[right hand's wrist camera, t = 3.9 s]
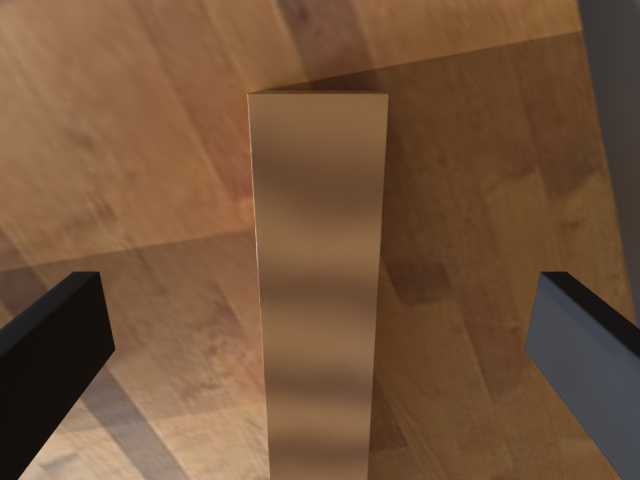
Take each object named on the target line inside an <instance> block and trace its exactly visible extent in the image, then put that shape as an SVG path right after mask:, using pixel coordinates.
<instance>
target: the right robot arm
mask: <svg viewBox="0 0 640 480" xmlns="http://www.w3.org/2000/svg"><path fill="white" fill-rule="evenodd" d="M114 351H115V345H114V340H113V336H112V331H111V326H110V321H109V316H108V311H107V306H106V302H105V297H104V292H103V287H102V282H101V277H100V273H99V272H72V273H71V274H70V275H69V276H67V277H66V278H65V279H64V280H62V281H61V282H60V283H59V284H57V285H56V286H55V287H54V288H52V289H51V290H50V291H48V292H47V293H46V294H45V295H43V296H42V297H41V298H40V299H38V300H37V301H36V302H35V303H33V304H32V305H31V306H29V307H28V308H27V309H26V310H24V311H23V312H22V313H21V314H19V315H18V316H17V317H16V318H14V319H13V320H12V321H10V322H9V323H8V324H7V325H5V326H4V327H3V328H2V329H0V480H18V479H19V477H20V476H21V475H22V473H23V472H24V471H25V469H26V468H27V467H28V465H29V464H30V463H31V461H32V460H33V459H34V457H35V456H36V455H37V453H38V452H39V451H40V449H41V448H42V447H43V445H44V444H45V443H46V441H47V440H48V439H49V437H50V436H51V435H52V433H53V432H54V431H55V429H56V428H57V427H58V425H59V424H60V423H61V421H62V420H63V419H64V417H65V416H66V415H67V413H68V412H69V411H70V409H71V408H72V407H73V405H74V404H75V403H76V401H77V400H78V399H79V397H80V396H81V395H82V393H83V392H84V391H85V389H86V388H87V387H88V385H89V384H90V383H91V381H92V380H93V379H94V377H95V376H96V375H97V373H98V372H99V371H100V369H101V368H102V367H103V365H104V364H105V363H106V361H107V360H108V359H109V357H110V356H111V355H112V353H113V352H114ZM525 351H526V352H527V353H528V355H529V356H530V357H531V359H532V360H533V361H534V363H535V364H536V365H537V367H538V368H539V369H540V371H541V372H542V373H543V375H544V376H545V377H546V379H547V380H548V381H549V383H550V384H551V385H552V387H553V388H554V389H555V391H556V392H557V393H558V395H559V396H560V397H561V399H562V400H563V401H564V403H565V404H566V405H567V407H568V408H569V409H570V411H571V412H572V413H573V415H574V416H575V417H576V419H577V420H578V421H579V423H580V424H581V425H582V427H583V428H584V429H585V431H586V432H587V433H588V435H589V436H590V437H591V439H592V440H593V441H594V443H595V444H596V445H597V447H598V448H599V449H600V451H601V452H602V453H603V455H604V456H605V457H606V459H607V460H608V461H609V463H610V464H611V465H612V467H613V468H614V469H615V471H616V472H617V473H618V475H619V476H620V477H621V479H622V480H640V329H638V328H637V327H636V326H635V325H633V324H632V323H631V322H630V321H628V320H627V319H626V318H624V317H623V316H622V315H621V314H619V313H618V312H617V311H616V310H614V309H613V308H612V307H611V306H609V305H608V304H607V303H605V302H604V301H603V300H602V299H600V298H599V297H598V296H597V295H595V294H594V293H593V292H592V291H590V290H589V289H588V288H586V287H585V286H584V285H583V284H581V283H580V282H579V281H578V280H576V279H575V278H574V277H573V276H571V275H570V274H569V273H568V272H541V273H540V277H539V282H538V287H537V292H536V297H535V302H534V306H533V311H532V316H531V321H530V326H529V331H528V336H527V340H526V345H525Z"/></svg>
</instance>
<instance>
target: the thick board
mask: <svg viewBox="0 0 640 480" xmlns="http://www.w3.org/2000/svg"><path fill="white" fill-rule="evenodd" d="M247 96H248V113H249V130H250V147H251V164H252V181H253V199H254V216H255V233H256V250H257V267H258V284H259V301H260V318H261V335H262V352H263V369H264V386H265V403H266V420H267V437H268V454H269V471H270V480H368V463H369V446H370V428H371V410H372V392H373V374H374V356H375V338H376V320H377V302H378V284H379V267H380V249H381V231H382V213H383V195H384V177H385V159H386V141H387V123H388V105H389V94H388V93H384V92H380V91H377V90H260V91H256V92H252V93H248V94H247Z"/></svg>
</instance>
